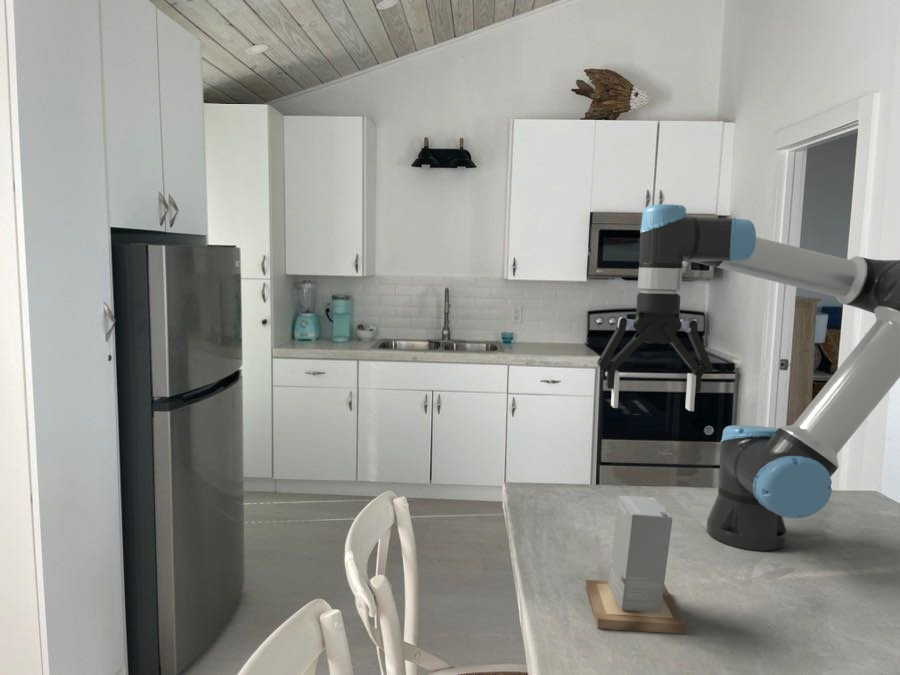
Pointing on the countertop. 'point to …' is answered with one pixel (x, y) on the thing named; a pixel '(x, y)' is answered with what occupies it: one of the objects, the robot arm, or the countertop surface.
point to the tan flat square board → (632, 612)
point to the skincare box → (640, 553)
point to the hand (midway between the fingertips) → (651, 408)
